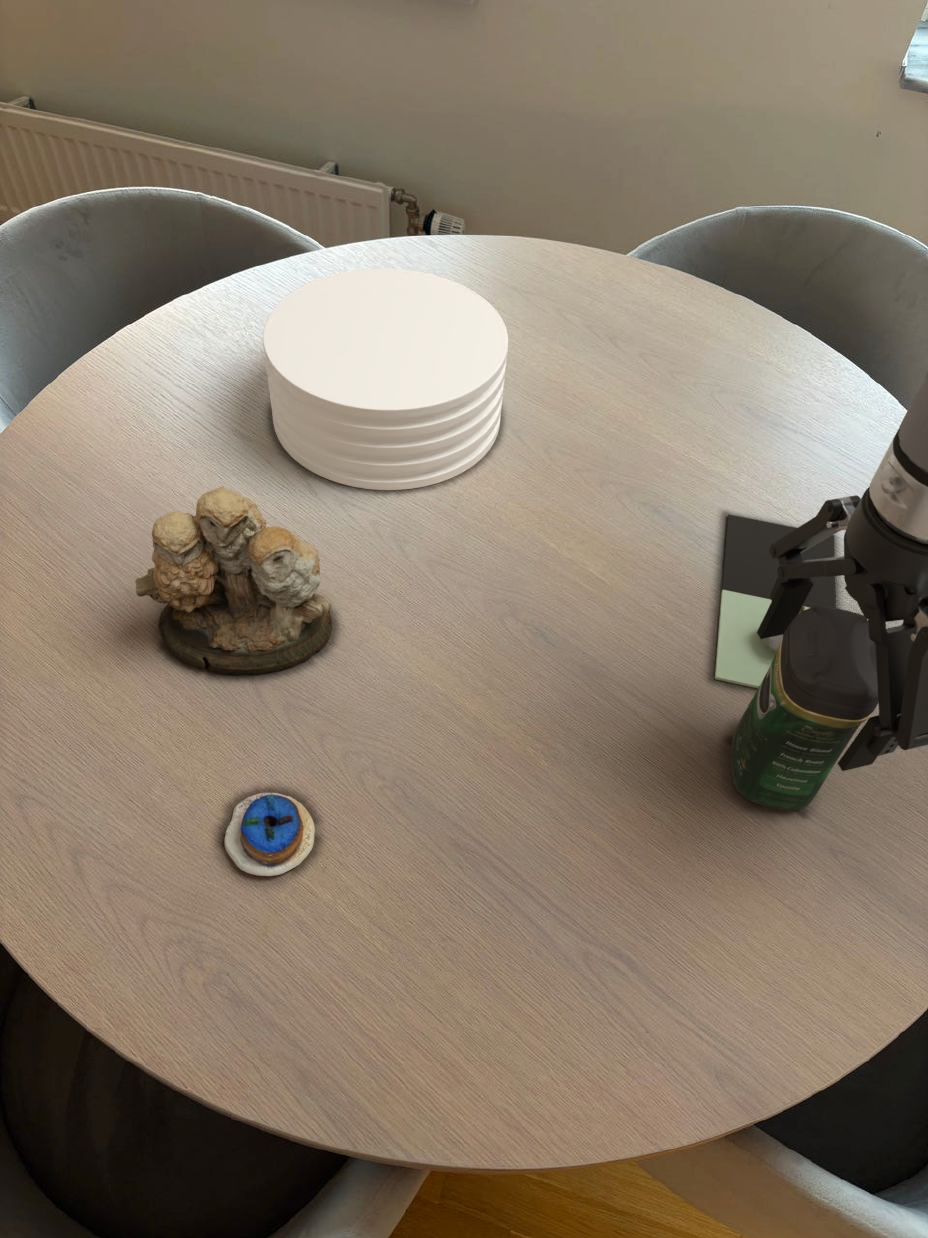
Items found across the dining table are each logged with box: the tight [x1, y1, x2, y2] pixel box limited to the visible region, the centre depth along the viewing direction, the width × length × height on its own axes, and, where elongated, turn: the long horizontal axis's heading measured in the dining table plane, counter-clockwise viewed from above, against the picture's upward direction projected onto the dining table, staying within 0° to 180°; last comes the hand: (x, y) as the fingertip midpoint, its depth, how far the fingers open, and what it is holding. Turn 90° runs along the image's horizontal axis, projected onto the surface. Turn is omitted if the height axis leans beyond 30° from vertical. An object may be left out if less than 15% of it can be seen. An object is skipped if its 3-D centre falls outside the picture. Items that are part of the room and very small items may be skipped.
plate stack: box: [262, 267, 509, 491], centre depth 113 cm, size 28×28×12 cm
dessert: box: [223, 792, 316, 877], centre depth 80 cm, size 8×7×6 cm
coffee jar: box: [730, 606, 879, 812], centre depth 81 cm, size 10×8×19 cm
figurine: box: [760, 606, 805, 653], centre depth 95 cm, size 5×4×6 cm
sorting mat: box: [714, 513, 837, 689], centre depth 101 cm, size 24×12×1 cm, turn 167°
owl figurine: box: [134, 486, 333, 675], centre depth 88 cm, size 18×12×17 cm, turn 94°
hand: (811, 695), depth 79 cm, fingers open, 13 cm apart
